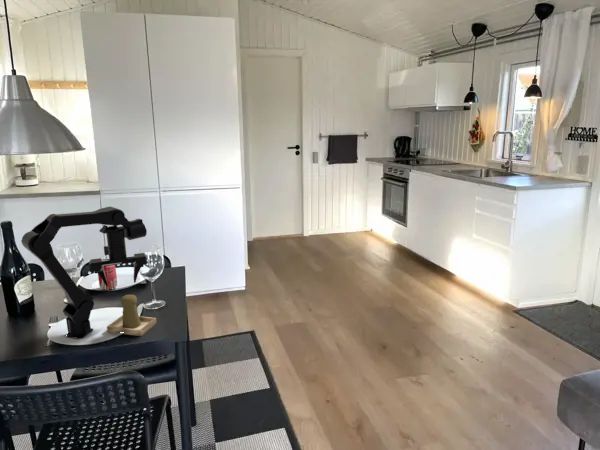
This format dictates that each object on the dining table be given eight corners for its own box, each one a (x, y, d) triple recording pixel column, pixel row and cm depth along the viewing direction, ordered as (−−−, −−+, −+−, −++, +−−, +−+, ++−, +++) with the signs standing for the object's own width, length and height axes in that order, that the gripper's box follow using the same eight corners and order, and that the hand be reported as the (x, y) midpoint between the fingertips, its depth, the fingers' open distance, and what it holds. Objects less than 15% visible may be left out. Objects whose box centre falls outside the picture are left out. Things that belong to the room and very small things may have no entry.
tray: (107, 331, 154) (106, 326, 154) (124, 319, 163) (123, 314, 163) (141, 336, 151) (140, 330, 151) (156, 323, 160) (156, 317, 160)
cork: (122, 322, 159) (119, 293, 156) (140, 319, 161) (137, 291, 158) (122, 330, 153) (118, 300, 150) (141, 327, 155) (138, 298, 153)
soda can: (100, 286, 193) (97, 259, 190) (118, 284, 195) (115, 257, 192) (98, 292, 187) (95, 265, 184) (117, 290, 189) (114, 263, 186)
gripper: (142, 233, 168) (146, 273, 172) (87, 240, 160) (92, 280, 164) (145, 242, 158) (149, 283, 162) (86, 248, 151) (92, 292, 155)
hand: (121, 284), depth 161 cm, fingers open, 9 cm apart
